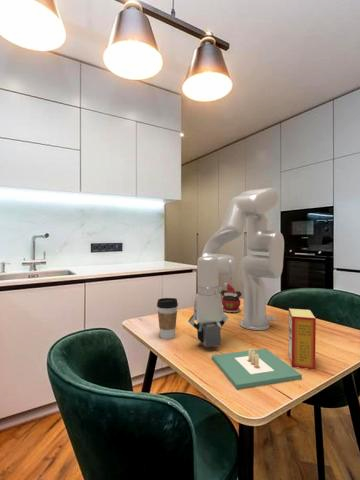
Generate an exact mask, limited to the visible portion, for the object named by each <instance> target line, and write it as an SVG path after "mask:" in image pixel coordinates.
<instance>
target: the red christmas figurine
mask: <svg viewBox="0 0 360 480" xmlns="http://www.w3.org/2000/svg"><path fill="white" fill-rule="evenodd" d="M223 286H224V287H226V288H227V289H226V290H225V289H222V290H220V295H221V297H222V298H221V299H222V306H223V312H227V313H231V312H233V313H238V312H240V311H241V308H240V306H241V299H240V298H241V296H242V292H241V291H239V290H237V291H236V289H235V288H234V287H233V277H232V276H230V280H229V283H228V282H224V283H223Z"/></svg>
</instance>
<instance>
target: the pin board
mask: <svg viewBox="0 0 360 480" xmlns="http://www.w3.org/2000/svg"><path fill="white" fill-rule="evenodd" d="M211 359H212V361H213V363H215V364H216V366H217V368H219V369H220V370H221V372H222V374H224V375H225V377H226V378H227V379H228V380H229V382H231V384H232V386H234V388H235V389H236V390H242V389H248V388H254V387H259V386H260V387H261V386H266V385H272V384H279V383H285V382H290V381H291V382H292V381H296V380H297V379H298V380H302V379H301V378H303V377H302V376H303V374H302V373H300V372H299V371H297V370H296V369H295V368H294V367H292V365H291V366H290V365H289V364H288V363H287V362H285V361H284V360H283V359H281V358H280V357H279V356H278V355H275V354H274V353H273V352H271V351H270V350H269V349H268V348H260V349H252V347H251V348H248V350H245V351H237V352H236V351H235V352H227V353H219V354H212V355H211Z"/></svg>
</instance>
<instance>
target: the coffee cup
mask: <svg viewBox="0 0 360 480" xmlns="http://www.w3.org/2000/svg"><path fill="white" fill-rule="evenodd" d="M178 304H179V303H178V299H177V298H175V297H173V298H172V297H164V298H159V299H157V302H156V307H157V316H158V328H159V337H160V338H161V339H163V340H171V339H173V338H175V337H176V326H177V317H178V316H177V315H178V310H177V308H178V307H179V306H178Z"/></svg>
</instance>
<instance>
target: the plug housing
mask: <svg viewBox="0 0 360 480" xmlns="http://www.w3.org/2000/svg"><path fill="white" fill-rule="evenodd" d="M202 331H203V342H202V344H203V346H204V347H205V348H212V347H218V346H219V347H220V346H221V338H222V337H221V329H220V326H219V325H217V324H216V323H215V322H212V323H204V324H203V328H202Z"/></svg>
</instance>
